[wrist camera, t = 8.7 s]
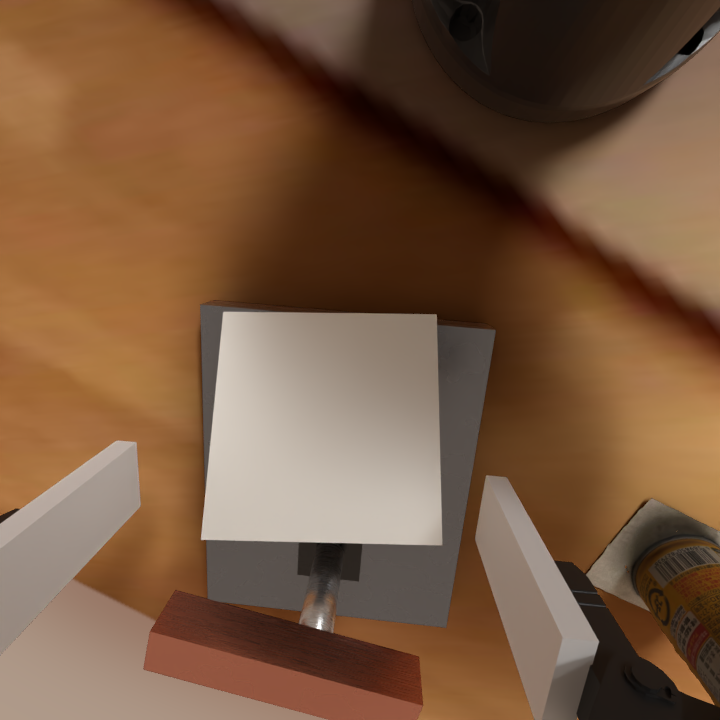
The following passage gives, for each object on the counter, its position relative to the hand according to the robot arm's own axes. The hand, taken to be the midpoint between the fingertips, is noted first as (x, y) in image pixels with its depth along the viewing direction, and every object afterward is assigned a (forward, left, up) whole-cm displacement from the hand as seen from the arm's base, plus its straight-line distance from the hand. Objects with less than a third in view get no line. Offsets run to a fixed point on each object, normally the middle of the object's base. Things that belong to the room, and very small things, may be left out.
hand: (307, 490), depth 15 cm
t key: (+10, 0, -8) cm, 13 cm away
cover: (0, 0, -5) cm, 5 cm away
